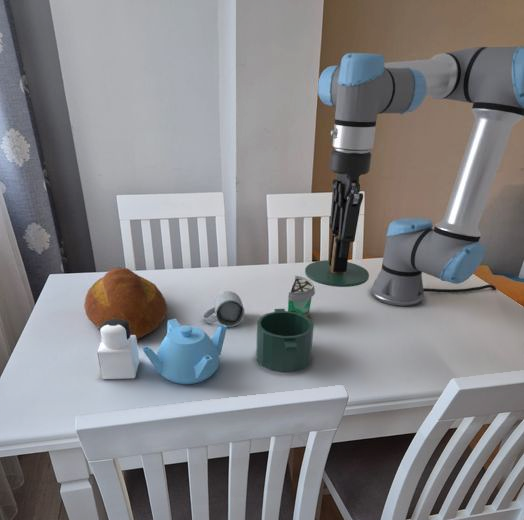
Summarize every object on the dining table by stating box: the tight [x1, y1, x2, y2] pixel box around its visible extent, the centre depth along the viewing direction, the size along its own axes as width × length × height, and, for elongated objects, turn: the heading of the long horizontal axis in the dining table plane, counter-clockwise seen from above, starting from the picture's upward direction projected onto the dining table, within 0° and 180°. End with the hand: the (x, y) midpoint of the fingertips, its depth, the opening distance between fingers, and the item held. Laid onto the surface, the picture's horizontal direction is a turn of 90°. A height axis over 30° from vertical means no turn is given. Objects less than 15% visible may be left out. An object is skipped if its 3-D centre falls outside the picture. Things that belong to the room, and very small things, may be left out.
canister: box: [255, 308, 315, 373], centre depth 110 cm, size 13×18×10 cm
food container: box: [287, 275, 316, 318], centre depth 127 cm, size 12×6×10 cm, turn 168°
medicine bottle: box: [96, 319, 140, 380], centre depth 103 cm, size 7×7×12 cm
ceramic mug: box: [202, 290, 246, 328], centre depth 126 cm, size 11×8×8 cm
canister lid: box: [304, 235, 370, 288], centre depth 100 cm, size 14×14×9 cm
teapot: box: [141, 318, 228, 385], centre depth 104 cm, size 15×15×11 cm
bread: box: [83, 266, 168, 340], centre depth 126 cm, size 21×33×12 cm, turn 20°
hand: (337, 267), depth 101 cm, fingers closed on canister lid, 3 cm apart
